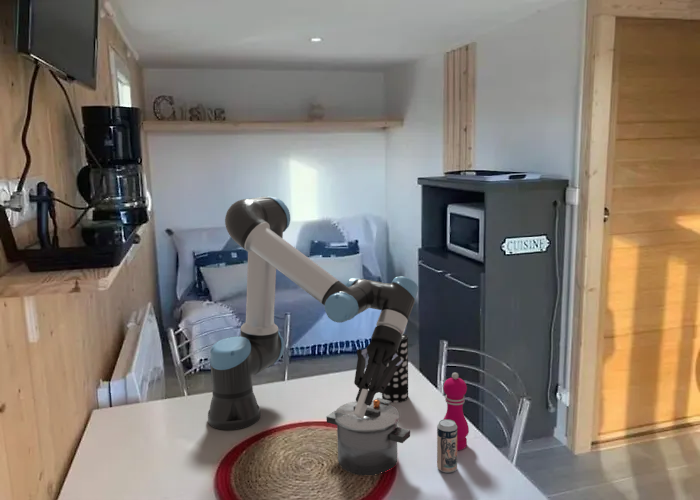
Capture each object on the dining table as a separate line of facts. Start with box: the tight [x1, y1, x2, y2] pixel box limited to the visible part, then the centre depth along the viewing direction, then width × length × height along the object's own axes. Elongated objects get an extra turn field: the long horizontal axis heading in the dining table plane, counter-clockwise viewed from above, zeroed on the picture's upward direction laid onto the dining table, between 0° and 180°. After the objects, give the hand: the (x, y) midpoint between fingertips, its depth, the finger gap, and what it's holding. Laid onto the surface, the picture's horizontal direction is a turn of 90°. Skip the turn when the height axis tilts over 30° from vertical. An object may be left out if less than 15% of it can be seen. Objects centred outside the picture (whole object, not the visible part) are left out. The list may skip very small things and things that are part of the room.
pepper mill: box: [442, 372, 470, 451], centre depth 151 cm, size 7×7×20 cm
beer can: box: [436, 418, 458, 474], centre depth 140 cm, size 5×5×12 cm
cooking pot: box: [325, 410, 411, 476], centre depth 145 cm, size 22×15×11 cm
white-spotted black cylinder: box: [381, 333, 409, 404], centre depth 181 cm, size 8×8×20 cm
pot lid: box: [334, 397, 400, 432], centre depth 144 cm, size 16×17×3 cm
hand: (358, 416), depth 140 cm, fingers closed
